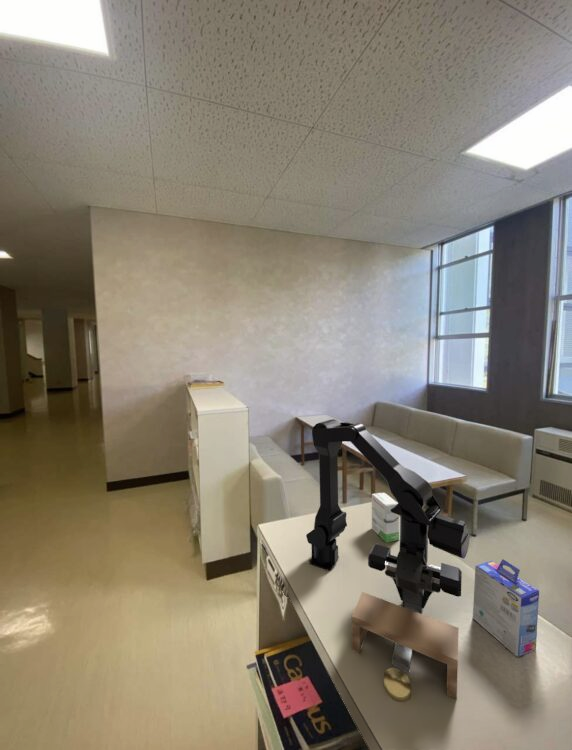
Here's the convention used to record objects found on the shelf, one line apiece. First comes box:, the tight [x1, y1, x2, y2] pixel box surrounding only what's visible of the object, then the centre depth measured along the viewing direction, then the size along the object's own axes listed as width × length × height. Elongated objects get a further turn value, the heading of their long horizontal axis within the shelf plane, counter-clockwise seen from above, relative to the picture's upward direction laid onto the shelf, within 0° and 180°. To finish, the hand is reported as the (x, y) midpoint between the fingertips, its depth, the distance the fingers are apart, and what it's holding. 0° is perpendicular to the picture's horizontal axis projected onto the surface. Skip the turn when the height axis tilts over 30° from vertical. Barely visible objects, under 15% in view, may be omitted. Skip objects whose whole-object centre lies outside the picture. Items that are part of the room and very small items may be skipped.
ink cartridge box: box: [472, 558, 540, 657], centre depth 64 cm, size 10×6×14 cm, turn 20°
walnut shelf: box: [351, 591, 460, 700], centre depth 59 cm, size 18×7×7 cm, turn 60°
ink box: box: [371, 492, 400, 543], centre depth 99 cm, size 9×5×12 cm, turn 15°
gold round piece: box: [383, 667, 412, 703], centre depth 54 cm, size 4×4×2 cm
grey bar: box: [391, 589, 424, 674], centre depth 65 cm, size 4×18×7 cm, turn 150°
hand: (412, 603), depth 70 cm, fingers closed on grey bar, 4 cm apart
